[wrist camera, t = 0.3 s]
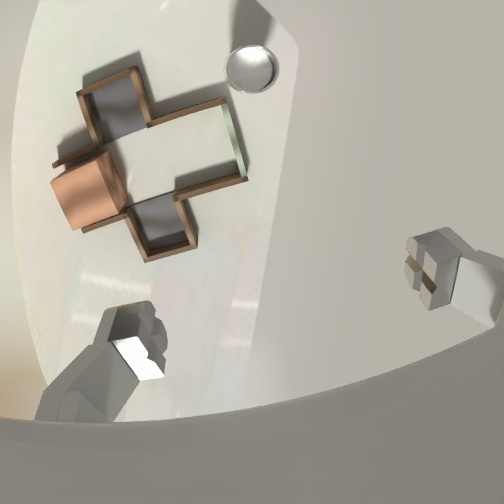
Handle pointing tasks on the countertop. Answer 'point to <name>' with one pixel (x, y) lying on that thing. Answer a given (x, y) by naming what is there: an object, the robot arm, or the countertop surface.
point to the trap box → (131, 120)
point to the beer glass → (251, 69)
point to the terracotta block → (90, 191)
